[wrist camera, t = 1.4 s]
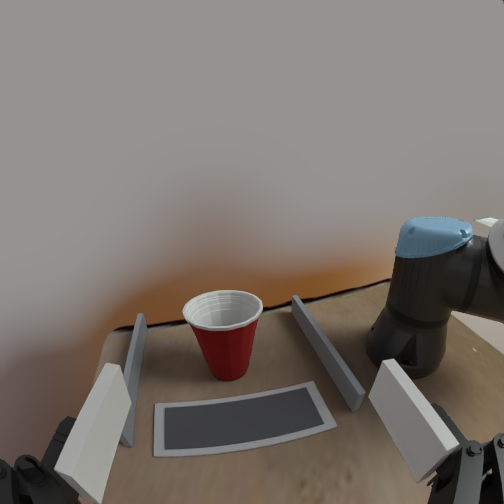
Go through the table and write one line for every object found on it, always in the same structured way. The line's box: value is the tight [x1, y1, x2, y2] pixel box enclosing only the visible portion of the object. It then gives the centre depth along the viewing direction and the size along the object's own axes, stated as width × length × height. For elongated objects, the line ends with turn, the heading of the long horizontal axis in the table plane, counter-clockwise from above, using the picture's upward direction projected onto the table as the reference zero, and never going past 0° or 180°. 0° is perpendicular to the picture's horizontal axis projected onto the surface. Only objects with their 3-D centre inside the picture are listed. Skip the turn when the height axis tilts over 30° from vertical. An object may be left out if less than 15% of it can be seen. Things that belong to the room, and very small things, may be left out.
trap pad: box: [154, 381, 337, 457], centre depth 30 cm, size 23×9×1 cm, turn 102°
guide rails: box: [120, 295, 366, 447], centre depth 38 cm, size 31×26×4 cm
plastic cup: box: [182, 290, 263, 381], centre depth 38 cm, size 11×11×12 cm
